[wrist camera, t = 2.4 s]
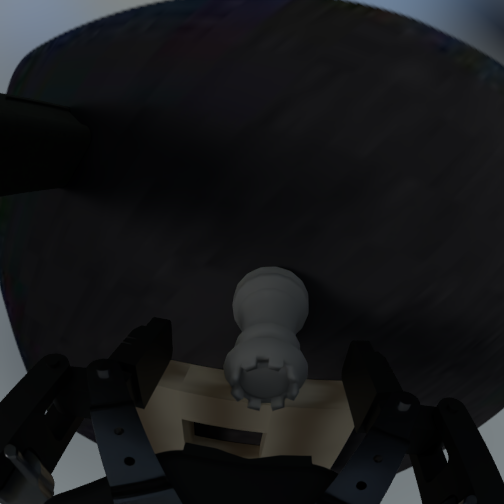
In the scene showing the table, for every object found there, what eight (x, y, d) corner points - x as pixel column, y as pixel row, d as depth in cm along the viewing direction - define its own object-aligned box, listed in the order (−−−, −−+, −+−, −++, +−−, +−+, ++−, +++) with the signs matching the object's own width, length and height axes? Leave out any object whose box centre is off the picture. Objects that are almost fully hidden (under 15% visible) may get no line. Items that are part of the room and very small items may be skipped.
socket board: (355, 380, 18) (363, 408, 15) (316, 463, 21) (318, 486, 18) (119, 346, 19) (100, 367, 16) (140, 436, 22) (130, 456, 19)
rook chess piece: (283, 341, 17) (283, 437, 10) (222, 309, 17) (184, 396, 10) (322, 286, 16) (352, 369, 9) (257, 249, 16) (237, 313, 8)
